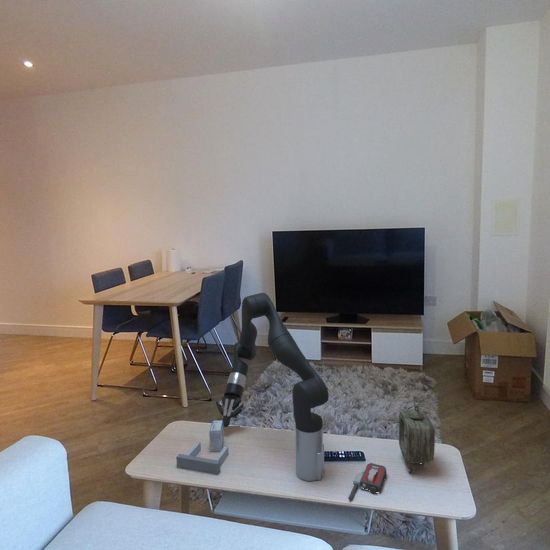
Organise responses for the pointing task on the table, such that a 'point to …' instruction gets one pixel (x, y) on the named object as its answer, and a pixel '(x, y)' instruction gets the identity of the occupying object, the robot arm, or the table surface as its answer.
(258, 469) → the table surface
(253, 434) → the table surface
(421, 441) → the olive fabric tall bag
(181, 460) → the dock
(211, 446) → the medicine box
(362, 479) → the walkie-talkie
